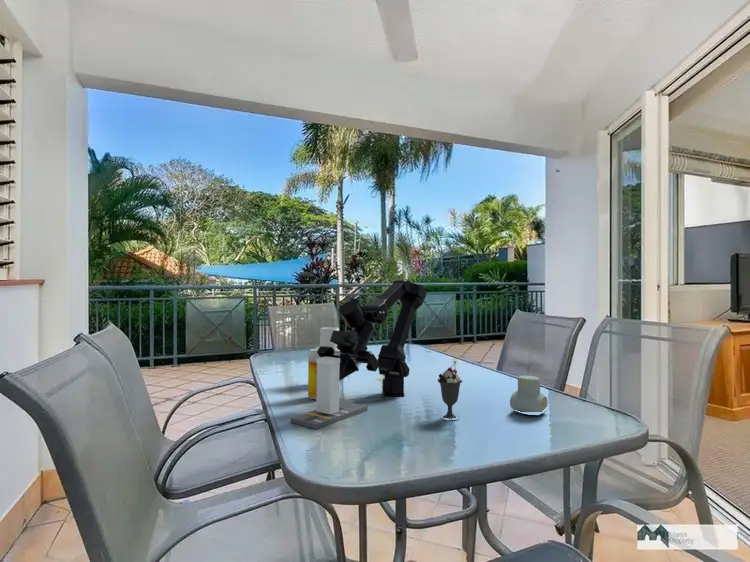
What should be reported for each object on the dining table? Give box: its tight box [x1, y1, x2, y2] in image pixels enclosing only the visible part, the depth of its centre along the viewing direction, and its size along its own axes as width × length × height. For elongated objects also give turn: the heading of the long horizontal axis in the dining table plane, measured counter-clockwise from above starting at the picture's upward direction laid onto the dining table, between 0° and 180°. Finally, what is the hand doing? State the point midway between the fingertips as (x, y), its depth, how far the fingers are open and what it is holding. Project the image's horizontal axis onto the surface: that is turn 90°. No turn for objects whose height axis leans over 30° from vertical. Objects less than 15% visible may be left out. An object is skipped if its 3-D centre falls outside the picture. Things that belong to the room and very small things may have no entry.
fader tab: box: [315, 357, 340, 414], centre depth 117 cm, size 4×5×14 cm
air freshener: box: [509, 375, 548, 412], centre depth 123 cm, size 11×8×10 cm
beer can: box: [307, 348, 320, 401], centre depth 138 cm, size 6×6×15 cm
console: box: [289, 400, 369, 430], centre depth 118 cm, size 21×9×1 cm, turn 145°
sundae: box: [437, 361, 463, 419], centre depth 118 cm, size 7×7×15 cm
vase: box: [314, 326, 340, 351], centre depth 156 cm, size 11×7×20 cm, turn 170°
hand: (333, 382), depth 119 cm, fingers closed, pressing on fader tab
